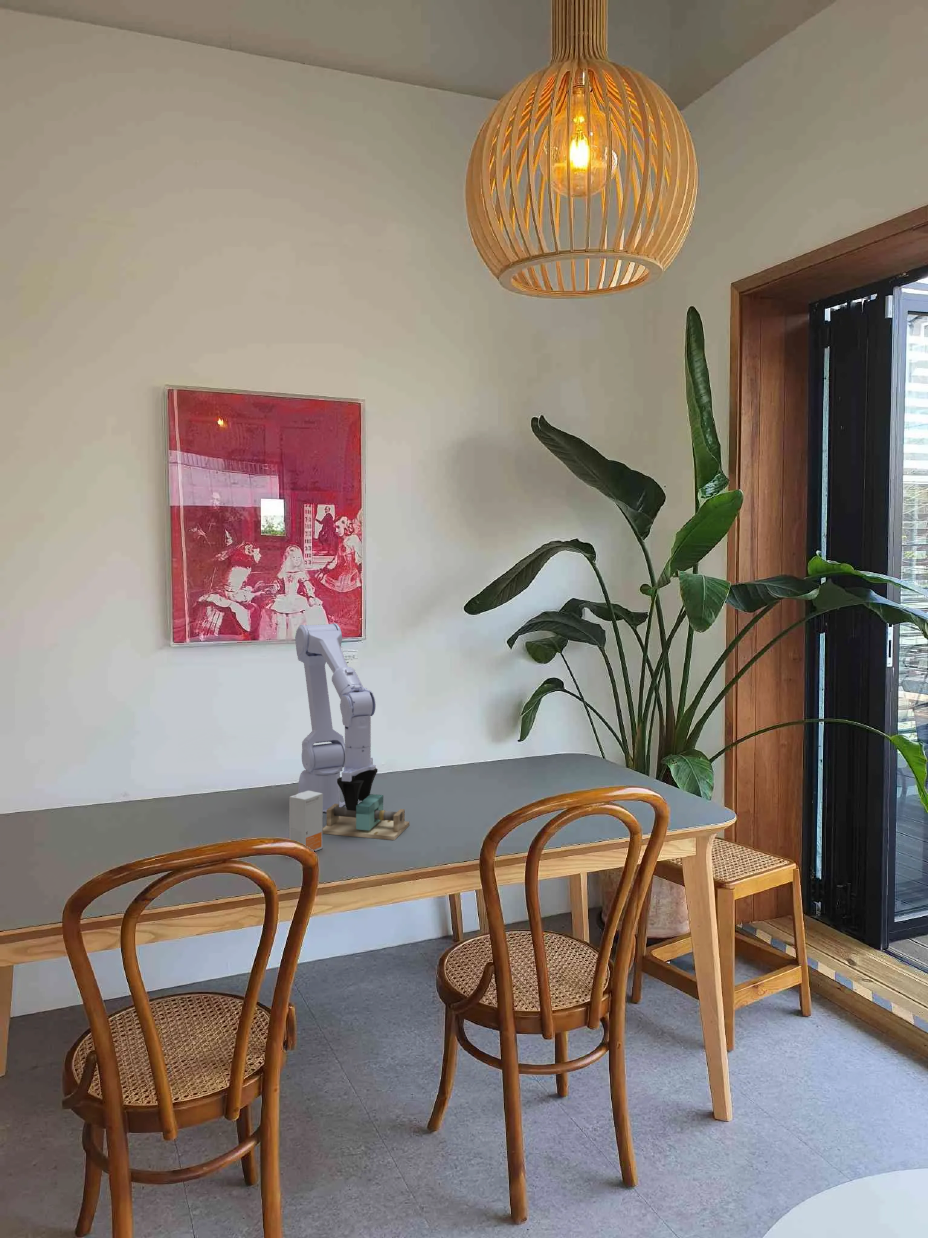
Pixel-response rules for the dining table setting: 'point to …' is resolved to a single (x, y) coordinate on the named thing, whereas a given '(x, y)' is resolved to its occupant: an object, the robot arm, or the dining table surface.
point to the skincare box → (306, 818)
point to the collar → (368, 811)
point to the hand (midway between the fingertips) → (357, 805)
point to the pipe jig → (345, 825)
